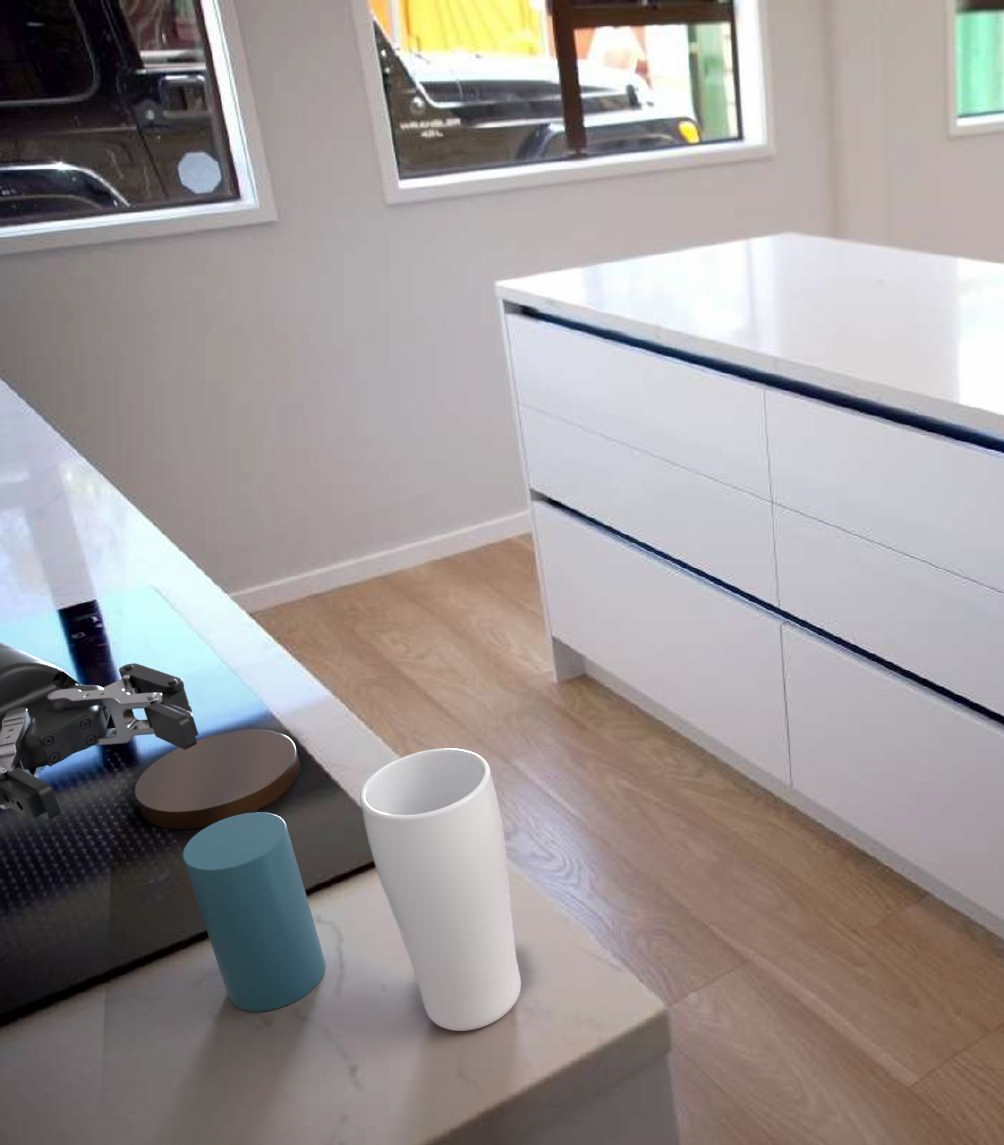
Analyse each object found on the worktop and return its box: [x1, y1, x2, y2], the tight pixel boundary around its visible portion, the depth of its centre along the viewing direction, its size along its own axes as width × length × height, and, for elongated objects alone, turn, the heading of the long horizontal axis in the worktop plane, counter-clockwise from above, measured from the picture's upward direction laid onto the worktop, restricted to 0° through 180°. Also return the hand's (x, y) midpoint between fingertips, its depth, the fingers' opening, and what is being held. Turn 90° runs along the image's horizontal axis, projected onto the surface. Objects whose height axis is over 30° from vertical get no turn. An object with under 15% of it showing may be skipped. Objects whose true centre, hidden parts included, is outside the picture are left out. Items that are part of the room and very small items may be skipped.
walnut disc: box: [134, 729, 301, 830], centre depth 97 cm, size 11×11×2 cm
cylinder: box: [182, 811, 327, 1013], centre depth 75 cm, size 5×5×10 cm
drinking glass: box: [359, 748, 522, 1032], centre depth 71 cm, size 7×7×15 cm
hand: (122, 767), depth 78 cm, fingers open, 8 cm apart
